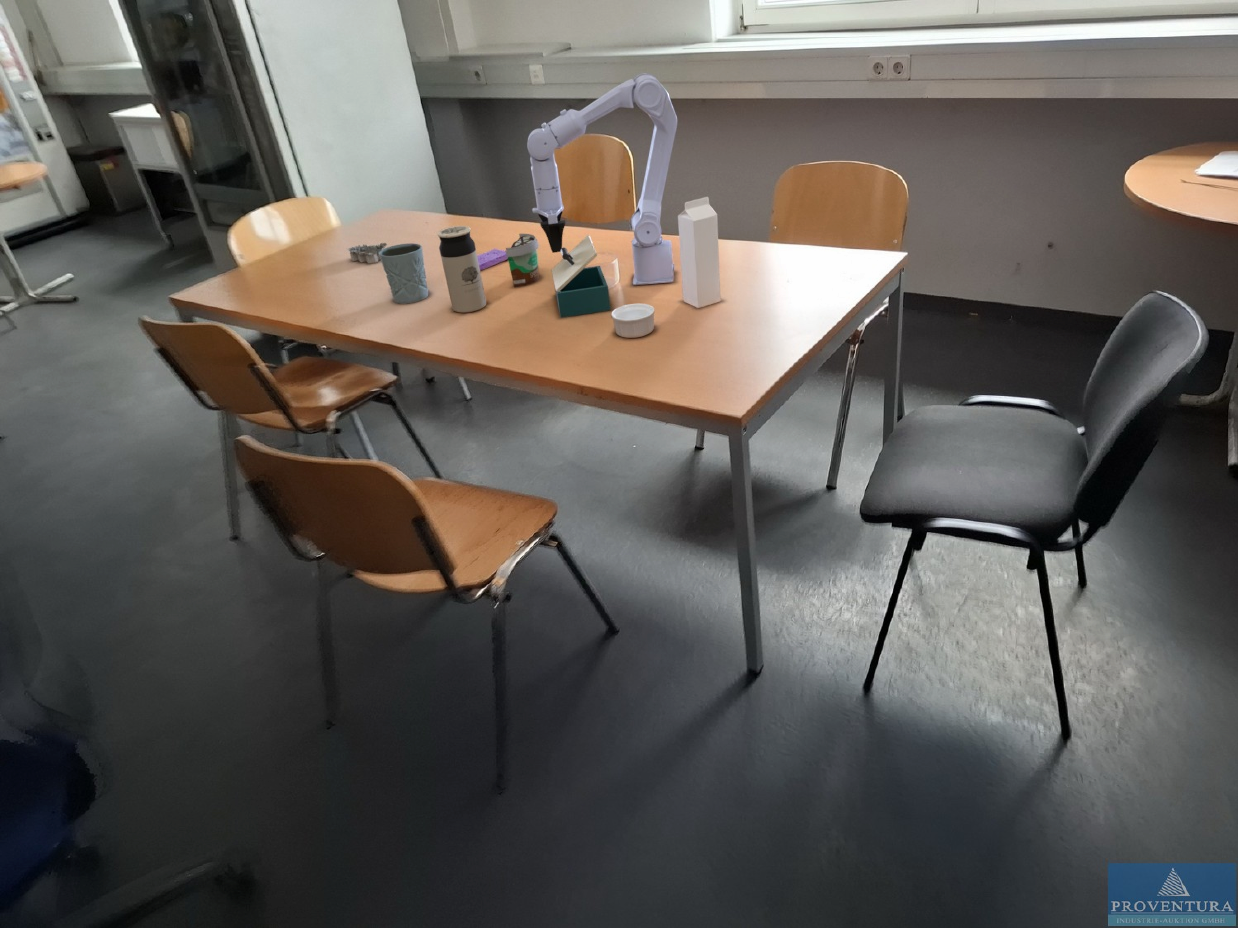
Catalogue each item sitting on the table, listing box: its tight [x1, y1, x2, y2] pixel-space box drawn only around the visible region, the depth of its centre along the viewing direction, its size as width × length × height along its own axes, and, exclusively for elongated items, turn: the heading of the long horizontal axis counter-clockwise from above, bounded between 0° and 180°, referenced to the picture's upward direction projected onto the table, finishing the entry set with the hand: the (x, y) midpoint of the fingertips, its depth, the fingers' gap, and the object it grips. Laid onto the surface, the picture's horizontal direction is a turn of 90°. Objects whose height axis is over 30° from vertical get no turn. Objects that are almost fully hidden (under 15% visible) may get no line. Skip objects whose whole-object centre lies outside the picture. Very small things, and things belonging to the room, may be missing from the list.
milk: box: [677, 196, 722, 309], centre depth 174 cm, size 6×6×22 cm
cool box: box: [554, 265, 612, 319], centre depth 185 cm, size 11×15×6 cm
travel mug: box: [436, 225, 487, 314], centre depth 187 cm, size 8×8×18 cm
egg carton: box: [346, 242, 388, 264], centre depth 233 cm, size 11×8×4 cm
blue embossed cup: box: [379, 242, 429, 305], centre depth 199 cm, size 10×10×12 cm
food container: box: [505, 233, 540, 288], centre depth 201 cm, size 12×6×10 cm, turn 169°
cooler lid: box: [551, 234, 598, 292], centre depth 181 cm, size 12×15×4 cm
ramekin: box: [610, 303, 655, 339], centre depth 168 cm, size 9×9×4 cm
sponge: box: [477, 248, 508, 271], centre depth 219 cm, size 7×13×2 cm, turn 136°
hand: (555, 247), depth 190 cm, fingers open, 7 cm apart
